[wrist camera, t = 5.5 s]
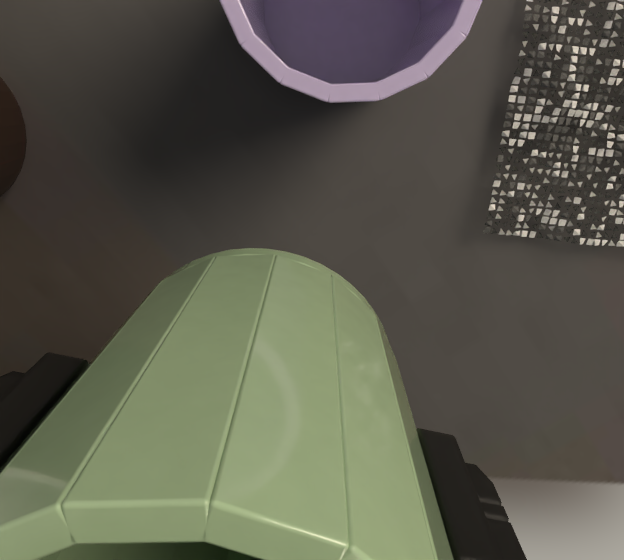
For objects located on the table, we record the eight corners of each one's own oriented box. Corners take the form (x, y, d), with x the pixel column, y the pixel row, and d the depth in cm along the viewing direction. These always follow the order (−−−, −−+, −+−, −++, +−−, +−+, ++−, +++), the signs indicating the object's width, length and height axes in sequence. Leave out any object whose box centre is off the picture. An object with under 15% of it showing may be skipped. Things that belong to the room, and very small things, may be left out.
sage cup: (71, 314, 14) (-297, 645, 5) (326, 200, 13) (338, 393, 5) (201, 525, 15) (70, 1008, 7) (433, 437, 14) (577, 878, 6)
